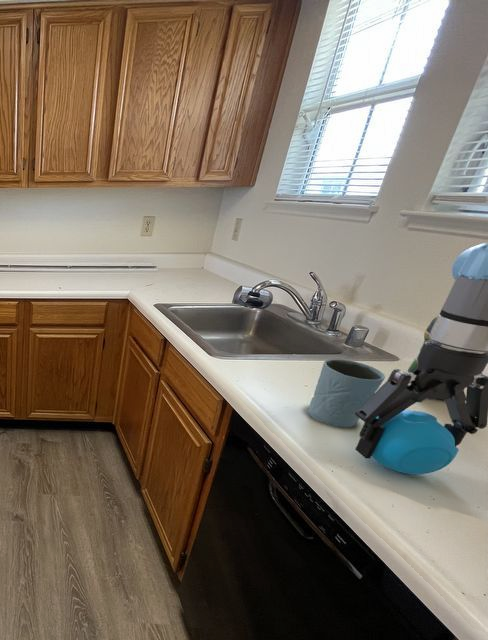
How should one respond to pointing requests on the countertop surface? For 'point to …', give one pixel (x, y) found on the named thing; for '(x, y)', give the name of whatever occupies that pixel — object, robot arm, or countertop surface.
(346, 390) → the grey embossed pot
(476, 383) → the robot arm
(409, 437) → the blue rounded lump
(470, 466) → the countertop surface
